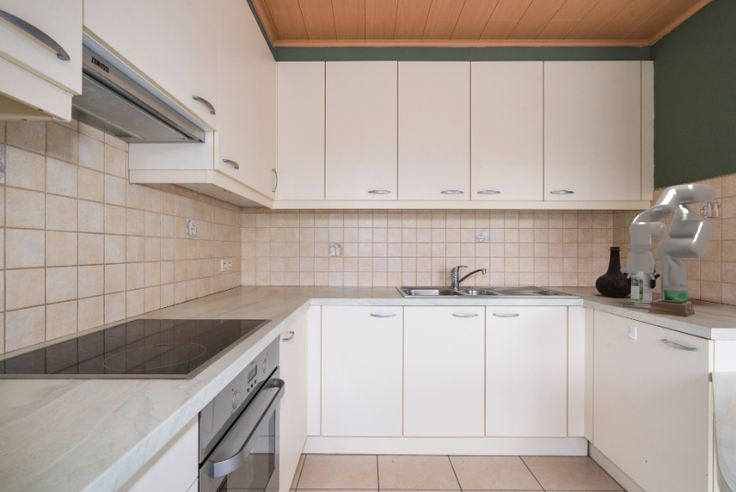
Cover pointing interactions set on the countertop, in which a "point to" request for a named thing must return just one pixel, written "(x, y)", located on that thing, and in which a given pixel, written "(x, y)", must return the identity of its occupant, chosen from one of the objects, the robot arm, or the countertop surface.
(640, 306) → the plate
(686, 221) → the robot arm
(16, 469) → the countertop surface
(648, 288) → the syrup box
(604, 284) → the glass bottle
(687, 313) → the socket
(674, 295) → the food container
